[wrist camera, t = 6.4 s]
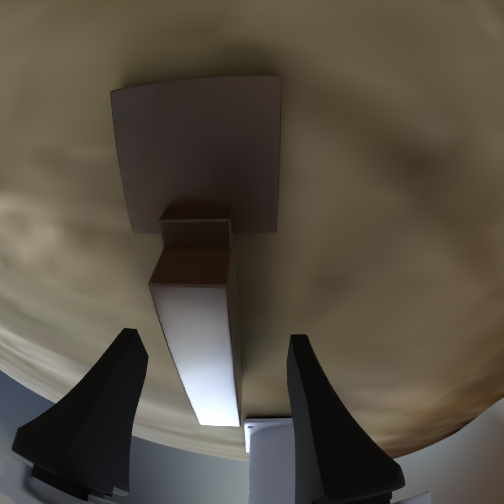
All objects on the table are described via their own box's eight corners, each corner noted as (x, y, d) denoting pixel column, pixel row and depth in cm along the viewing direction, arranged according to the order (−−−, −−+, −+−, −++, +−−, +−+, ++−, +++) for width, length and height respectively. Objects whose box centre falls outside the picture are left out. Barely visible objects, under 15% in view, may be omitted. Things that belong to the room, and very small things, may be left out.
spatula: (266, 378, 16) (267, 427, 13) (182, 374, 16) (174, 421, 13) (280, 75, 7) (294, 72, 4) (118, 89, 7) (58, 102, 4)
